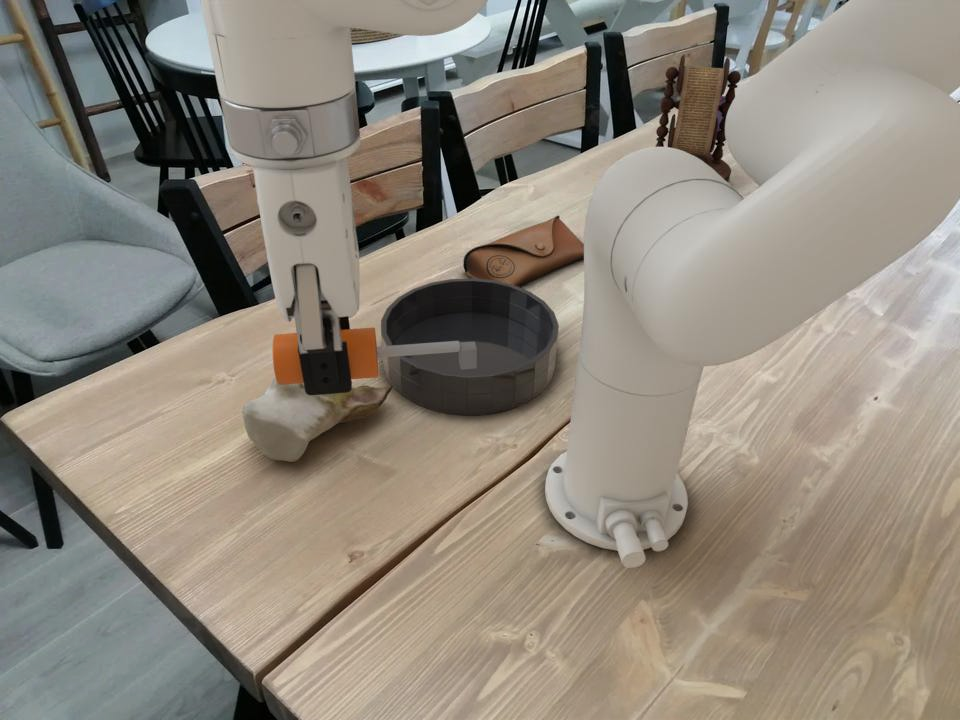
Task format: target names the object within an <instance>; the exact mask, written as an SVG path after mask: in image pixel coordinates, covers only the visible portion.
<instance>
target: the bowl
mask: <svg viewBox="0 0 960 720" xmlns="http://www.w3.org/2000/svg"><path fill="white" fill-rule="evenodd" d="M559 328H560V325H559V322H558V319H557V316H556V313H555V311H553V310H552V308H551V307H550V306H549V305H548V303H547V302H546V301H545V300H543V299H541V298H540V297H539V296H537V295H536V294H534V293H532V291H529V290H527V289H524V288H521V287H520V286H519V287H517V286H515V285H512V284H507V283H503V282H499V281H495V280H486V279H475V278H473V279H472V278H471V277H469V278H467V277H466V278H449V279H444V280H438V281H432V282H429V283H426V284H423V285H421V286H418V287H414V288H412V289H410V290H409V291H407V292H405V293H403V294H402V295H400V296H398V297H397V298H396V299H395V300H394V301H393V302H392V303H390V304H389V306H387V308H386V309H385V311H384V314H383V316H382V318H381V320H380V339H381V346H394V345H408V344H422V343H435V342H449V341H459V343H462V342H475V344H476V349H477V367H476V368H474V369H460V363H459V352H449V353H436V354H423V355H409V356H396V357H382V365H383V369H384V373H385V376H386V378H387V380H388V381H389V384H390V386H392V388H394V389H395V390H396V392H398V393H399V394H400V395H401V396H402V397H404V398H406V400H409V401H410V402H411V403H414V404H416V405H418V406H420V407H423V408H425V409H428V410H431V411H434V412H439V413H443V414H448V415H449V414H450V415H458V416H482V415H491V414H497V413H501V412H505V411H509V410H513V409H515V408H517V407H521V406H522V405H524V404H526V403H528V402H530V401H532V400H533V399H534V398H536V397H537V396H539V395H540V394H541V393H542V392H543V391H544V390H545V389H546V388H547V386H548V385H549V384H550V382H551V380H552V378H553V376H554V373H555V368H556V360H557V359H556V358H557V349H558V340H559V339H558V338H559Z"/></svg>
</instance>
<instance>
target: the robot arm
mask: <svg viewBox="0 0 960 720" xmlns="http://www.w3.org/2000/svg"><path fill="white" fill-rule="evenodd" d="M488 1H489V0H200V5H201V10H202V15H203V20H204V25H205V30H206V34H207V40H208V44H209V50H210V55H211V61H212V65H213V71H214V75H215V76H214V77H215V81H216V86H217V90H218V94H219V101H220V105H221V110H222V115H223V120H224V124H225V131H226V136H227V140H228V144H229V148H230V153H231V154H230V155H231V156H232V157H233V158H234V159H235V160H236V161H238V162H239V163H242V164H244V165H248V166H251V167H252V172H253V178H254V186H255V191H256V199H257V200H256V203H257V206H258V210H259V216H260V223H261V224H260V225H261V229H262V235H263V240H264V242H263V243H264V248H265V255H266V258H267V263H268V264H267V265H268V269H269V270H268V271H269V275H270V279H271V285H272V289H273V294H274V298H275V303H276V306H277V311H278V314H279V316H280V317H281V318H282V319H284V320H285V321H286V322H289V323H291V321H292V319H294V323H295V329H296V333H297V338H298V344H299V345H298V353H299V359H300V365H301V370H302V376H303V382H304V387H305V392H306V394H308V395H323V394H336V393H347V392H350V391H351V389H352V388H353V382H352V381H353V380H352V379H351V373H350V365H349V357H348V349H347V342H342V335H341V330H345V329H351V326H350V319H351V318H353V317H355V316H356V314H358V312H359V310H360V297H361V295H360V292H361V291H360V289H361V288H360V287H361V286H360V285H361V283H360V281H361V279H360V277H361V271H360V270H361V269H360V252H359V251H360V250H359V244H358V235H357V228H356V220H355V212H354V203H353V201H354V200H353V194H352V193H353V192H352V185H351V184H352V183H351V179H350V178H351V177H350V172H349V164H348V159H347V158H348V157H350V156H352V155H353V154H354V153H355V152H356V151H358V150H359V148H360V147H361V144H362V140H361V139H362V138H361V131H360V121H359V112H358V111H359V109H358V100H357V90H356V89H357V87H356V77H355V65H354V55H353V43H352V36H351V35H352V34H351V33H352V32H351V29H357V30H365V31H373V32H379V33H387V34H394V35H402V36H414V37H423V36H425V37H426V36H427V37H428V36H437V35H441V34H445V33H448V32H451V31H454V30H456V29H459V28H460V27H462V26H464V25H465V24H467V23H468V22H470V21H471V20H472V19H474V18H475V17H476V16H477V15H478V14H479V12H480V11H481V10H482V9H483V8H484V7H485V6H486V4H487V3H488ZM959 88H960V0H848V1H846V2H845V3H844V4H842V5H841V6H840V7H839V8H837V9H836V10H835V11H833V12H832V13H831V14H830V15H829V16H826V18H825V19H823V20H822V21H821V22H820V23H818V24H817V25H815V26H814V27H813V28H812V29H811V30H810V31H808V32H807V33H806V34H804V35H803V36H802V37H801V38H799V39H798V40H797V41H796V42H794V43H793V44H791V46H789V47H788V48H786V49H785V50H783V52H782V53H780V54H779V55H777V56H776V57H775V58H774V59H772V60H771V61H770V62H768V63H767V64H766V65H765V66H764V67H762V68H761V69H760V70H759V71H758V72H756V73H755V74H754V75H753V76H752V77H751V78H750V79H749V80H748V81H747V82H746V83H745V84H744V85H743V86H742V87H741V88H740V90H739V91H738V92H737V94H735V98H734V100H733V101H732V104H731V105H730V108H729V110H728V112H727V116H726V121H725V138H726V141H725V142H726V145H727V147H728V150H729V152H730V154H731V156H732V158H733V159H734V160H735V161H736V163H737V164H738V165H739V166H740V168H741V169H742V171H744V173H745V174H746V175H747V176H748V177H749V178H750V179H751V180H752V181H753V182H755V184H756V185H758V186H759V187H757V188H756V189H755V190H753V191H752V192H751V193H750V194H748V195H747V196H746V197H743V196H742V195H741V194H740V192H739V191H738V190H737V189H736V188H735V187H733V186H732V185H731V184H730V183H729V181H728V182H727V181H726V180H724V179H723V178H722V177H721V176H720V175H719V174H718V173H717V172H716V171H715V170H713V169H712V168H711V167H710V166H708V165H707V164H706V163H704V162H703V161H702V160H700V159H699V158H697V157H695V156H693V155H691V154H689V153H687V152H685V151H682V150H679V149H675V148H669V147H668V146H664V147H655V146H649V147H644V148H640V149H637V150H635V151H632V152H630V153H628V154H626V155H624V156H622V157H621V158H619V159H618V160H617V161H615V162H614V163H613V164H611V166H610V167H609V168H608V169H607V170H606V171H605V172H604V173H603V175H602V176H601V178H600V179H599V180H598V182H597V183H596V185H595V187H594V189H593V191H592V194H591V195H590V196H591V197H590V199H589V202H588V205H587V210H586V213H585V217H584V218H585V219H584V230H583V244H584V258H583V277H584V278H583V279H584V280H583V283H584V289H583V308H582V309H583V311H582V314H583V315H582V322H581V331H580V340H579V348H578V354H577V364H576V371H575V379H574V387H573V396H572V405H571V413H570V422H569V429H568V438H567V446H566V450H565V451H564V452H563V453H561V454H560V455H558V456H557V458H556V459H555V460H554V461H553V462H552V463H551V465H550V467H549V468H548V470H547V474H546V477H545V484H544V485H545V486H544V493H545V501H546V504H547V506H548V509H549V511H550V513H551V515H552V516H553V518H554V519H555V520H556V522H558V524H560V526H561V527H563V529H564V530H566V531H567V532H569V533H570V534H571V535H573V536H574V537H575V538H577V539H579V540H581V541H583V542H585V543H587V544H590V545H592V546H595V547H597V548H601V549H605V550H611V551H617V553H618V555H619V559H620V562H621V564H622V565H623V567H624V568H626V569H634V568H635V569H636V568H638V567H640V566H642V565H643V564H645V562H646V560H647V557H646V553H645V551H644V550H647V549H650V548H651V549H652V550H653V551H654V552H663V551H664V550H666V549H667V548H668V547H669V544H670V543H669V541H668V540H670V539H671V538H672V537H673V536H675V535H676V534H677V533H678V531H679V529H680V528H681V527H682V526H683V523H684V521H685V517H686V514H687V512H688V511H687V510H688V506H689V499H688V492H687V489H686V486H685V484H684V482H683V480H682V478H681V476H680V475H679V473H678V471H679V466H680V462H681V458H682V455H683V450H684V447H685V442H686V437H687V434H688V430H689V426H690V421H691V417H692V415H693V409H694V405H695V402H696V397H697V394H698V389H699V386H700V381H701V378H702V374H703V372H704V371H703V370H704V367H714V366H721V365H725V364H726V365H727V364H730V363H733V362H736V361H739V360H741V359H743V358H745V357H748V356H750V355H752V354H754V353H756V352H758V351H760V350H762V349H764V348H765V347H767V346H769V345H770V344H772V343H774V342H775V341H777V340H779V339H780V338H782V337H783V336H785V335H786V334H788V333H789V332H791V331H792V330H794V329H796V328H798V327H799V326H801V324H803V323H804V322H806V321H808V320H809V319H810V318H812V317H814V316H815V315H816V314H818V313H820V312H821V311H823V310H824V309H826V308H827V307H829V306H830V305H832V304H834V303H835V302H836V301H838V300H839V299H841V298H842V297H844V296H846V295H847V294H848V293H850V292H851V291H853V290H854V289H856V288H857V287H859V286H860V285H862V284H863V283H865V282H867V281H868V280H869V279H871V278H873V276H875V275H877V274H878V273H880V272H881V271H883V270H884V269H886V268H887V267H889V266H890V265H892V264H893V263H895V262H896V261H898V260H899V259H900V258H902V257H903V256H905V255H906V254H907V253H909V252H910V251H911V250H913V249H914V248H915V247H917V246H918V245H919V244H921V243H922V242H923V241H924V240H926V239H927V238H928V237H929V236H930V235H931V234H932V233H933V232H934V231H935V230H936V229H937V228H938V227H939V226H940V225H941V224H942V223H943V222H944V221H945V219H946V218H947V217H948V216H949V215H950V213H951V212H952V211H953V210H954V208H955V207H956V205H957V204H958V202H959V201H960V103H959V102H958V101H957V100H956V99H954V98H953V97H952V96H951V95H952V94H953V93H954V92H955V91H957V90H958V89H959ZM331 330H332V332H331Z"/></svg>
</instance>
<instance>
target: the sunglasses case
mask: <svg viewBox="0 0 960 720" xmlns="http://www.w3.org/2000/svg"><path fill="white" fill-rule="evenodd" d="M560 217H561V216H560V215H556V216H554V217H552V218H550V219H548V220H546V221H542V222H540V223H537V224H534V225H531V226H529V227H525V228H522V229H520V230H517V231H515V232H513V233H510V234H508V235H505V236H503V237H500V238H498V239H495V240H494V241H493V240H492V241H491V242H489V243H486V244H481V245H478V246H476V247H473V248H472V249H470V250H469V251H467V252H466V253H465V255H464V257H463V261H462V262H463V263H462V264H463V269H464V272H465V274H466V276H467V277H469V278H472V279H473V278H475V279H486V280H495V281H499V282H503V283H507V284H512V285H515V286H517V287H520V286H522V285H524V284H527V283H529V282H531V281H533V280H535V279H538V278H540V277H542V276H545V275H547V274H550V273H551V272H554V271H557V270H559V269H561V268H564V267H567V266H568V265H570V264H573V263H576V262H578V261H580V260H582V259H584V242H583V241H581V240H580V238H579V237H578V236H577V235H576V234H575V233H574V232H573V231H572V230H571V229H570V228H569V227H568V226H567V225H566V223H565V222H564V221H562V220H561V219H560Z"/></svg>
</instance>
